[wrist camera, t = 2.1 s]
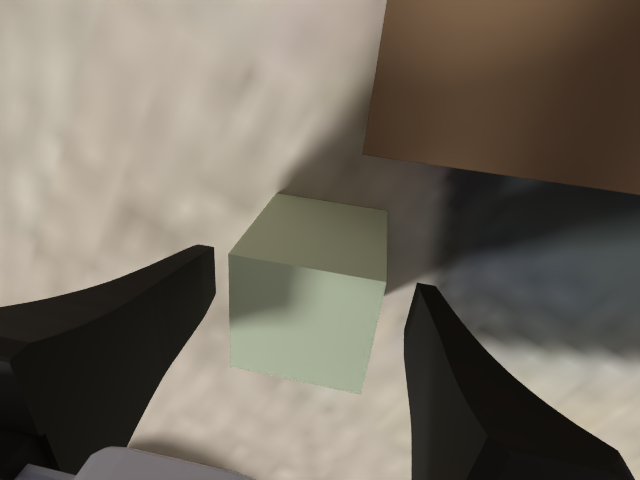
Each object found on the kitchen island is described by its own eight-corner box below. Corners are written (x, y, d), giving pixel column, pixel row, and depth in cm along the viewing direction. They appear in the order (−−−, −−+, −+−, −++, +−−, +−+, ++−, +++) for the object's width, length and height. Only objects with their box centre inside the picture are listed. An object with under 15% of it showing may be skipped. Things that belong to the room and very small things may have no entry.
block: (387, 210, 14) (386, 282, 10) (368, 301, 16) (360, 394, 12) (276, 192, 15) (228, 254, 10) (272, 283, 17) (230, 366, 12)
